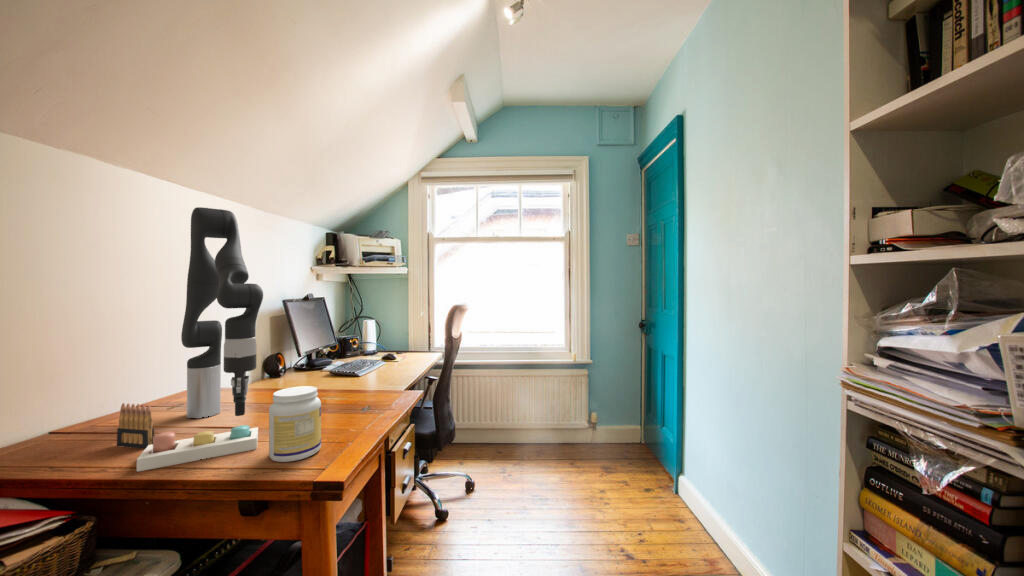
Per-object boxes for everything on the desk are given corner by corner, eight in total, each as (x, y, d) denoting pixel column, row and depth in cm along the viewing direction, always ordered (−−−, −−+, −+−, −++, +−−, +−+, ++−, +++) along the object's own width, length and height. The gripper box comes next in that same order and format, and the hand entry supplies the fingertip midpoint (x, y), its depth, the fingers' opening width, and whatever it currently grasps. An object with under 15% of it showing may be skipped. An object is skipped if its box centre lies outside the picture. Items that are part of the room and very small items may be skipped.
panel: (148, 456, 98) (148, 445, 98) (258, 437, 111) (258, 427, 111) (136, 471, 90) (136, 459, 90) (256, 449, 103) (256, 438, 103)
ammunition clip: (116, 446, 105) (116, 403, 105) (124, 443, 107) (124, 401, 107) (147, 449, 103) (147, 405, 103) (154, 446, 105) (154, 403, 105)
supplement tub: (330, 450, 102) (330, 388, 102) (284, 468, 92) (285, 399, 92) (305, 440, 108) (305, 383, 109) (259, 457, 98) (259, 392, 98)
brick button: (155, 449, 97) (155, 433, 97) (176, 446, 99) (176, 430, 99) (150, 455, 93) (150, 439, 94) (173, 452, 96) (173, 435, 96)
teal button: (231, 441, 106) (231, 427, 106) (249, 438, 108) (249, 424, 108) (230, 447, 102) (230, 431, 102) (248, 443, 104) (249, 428, 104)
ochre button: (195, 448, 101) (195, 432, 101) (214, 444, 104) (214, 429, 104) (192, 454, 98) (192, 438, 98) (212, 450, 100) (212, 434, 100)
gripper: (226, 351, 109) (225, 410, 109) (220, 358, 98) (220, 424, 97) (257, 349, 113) (257, 406, 113) (255, 356, 102) (255, 419, 102)
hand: (240, 415), depth 105 cm, fingers closed
